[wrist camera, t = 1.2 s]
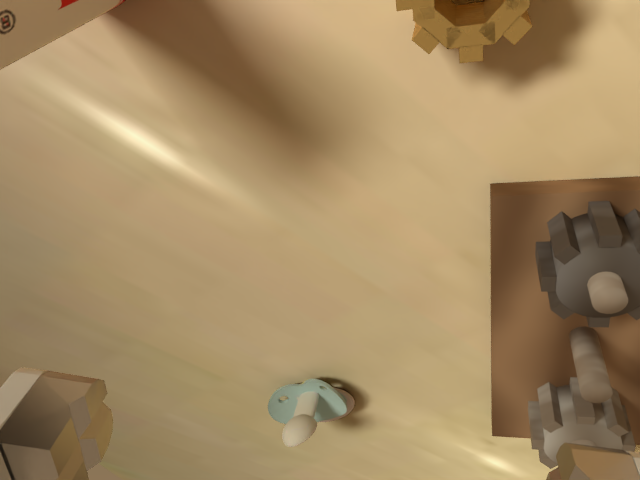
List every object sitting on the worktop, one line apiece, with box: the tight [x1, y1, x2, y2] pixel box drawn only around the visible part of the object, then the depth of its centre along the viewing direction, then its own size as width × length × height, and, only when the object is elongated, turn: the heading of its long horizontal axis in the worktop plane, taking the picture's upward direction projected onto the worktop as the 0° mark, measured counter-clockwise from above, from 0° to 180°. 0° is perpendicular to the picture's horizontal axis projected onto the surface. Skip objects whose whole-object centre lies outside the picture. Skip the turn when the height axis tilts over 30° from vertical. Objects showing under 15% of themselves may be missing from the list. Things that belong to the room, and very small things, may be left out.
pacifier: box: [268, 379, 355, 447], centre depth 49 cm, size 7×6×6 cm
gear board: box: [490, 177, 640, 469], centre depth 38 cm, size 12×23×6 cm, turn 10°
